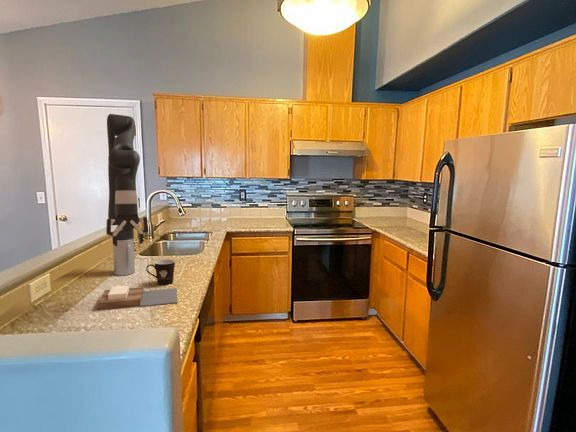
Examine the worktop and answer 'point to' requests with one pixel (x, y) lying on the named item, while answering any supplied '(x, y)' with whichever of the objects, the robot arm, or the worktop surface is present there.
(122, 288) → the cream rectangular block
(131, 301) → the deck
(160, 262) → the coffee mug
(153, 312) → the worktop surface
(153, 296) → the mat
